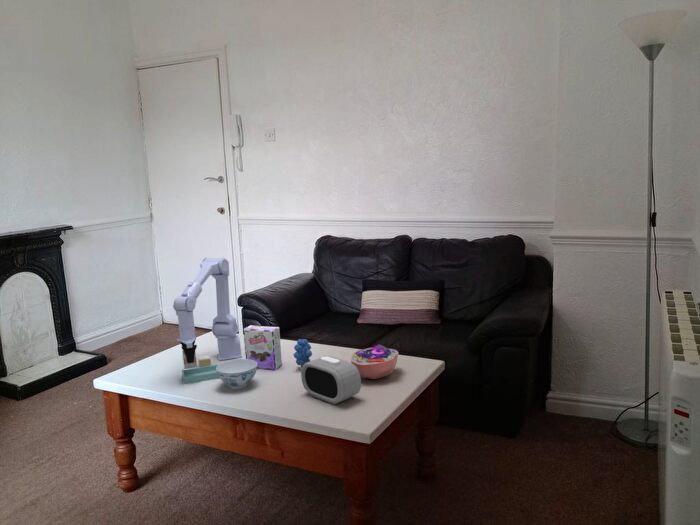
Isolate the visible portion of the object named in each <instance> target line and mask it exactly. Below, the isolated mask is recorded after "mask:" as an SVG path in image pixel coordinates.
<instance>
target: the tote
mask: <svg viewBox="0 0 700 525" xmlns="http://www.w3.org/2000/svg"><path fill="white" fill-rule="evenodd" d="M219 364H220V363H218V364H213V365H212V364H211V366H205V367H199V366H198V367H195V368H189V369H183V370H181V375H182V376H181V377H182V382H183V384H184V385H188V384H192V383H199V382H204V381H210V380H211V381H212V380H216V379H220V377H219V376H218V374H217V371H216V367H217V366H218V365H219Z"/></svg>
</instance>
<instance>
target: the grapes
mask: <svg viewBox="0 0 700 525" xmlns="http://www.w3.org/2000/svg"><path fill="white" fill-rule="evenodd" d="M293 349H294V350H295V352H294V353H293V358H295V359H296V360H295V363H296V364H297V366H300V367H301V368H302V367H303V365H304V364H305V363H307V362H310V361H311V359H310V358H311V357H312V355H313V352H312V350H311V349H312V345H311V344H310V343H309V341H308V340H307V339H306V338H299V339H298V340H297V342H296V344H295V345H294V347H293Z"/></svg>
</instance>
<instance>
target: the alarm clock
mask: <svg viewBox="0 0 700 525" xmlns="http://www.w3.org/2000/svg"><path fill="white" fill-rule="evenodd" d="M300 374H301V376H300V377H301V382H302V385H303V388H304V389H305V390H306V392H307V393H308V394H309V395H311V396H312V397H314V398H316V399H319V400H322V401H325V402H328V403H330V404H332V405H337V404H339V403H341V402H343V401H347V399H348V400H349V399H350V398H351V397H354V396H355V395H357V394H358V393H360V391H361V388H362V377H361V376H360V373H359V371H358V369H357V367H356V366H355V365H354V364H352V363H351V361H348V360H345V359H341V358H337V357H335V356H334V357H333V356H330V355H324V356H322V357H318V358H315V359H313V360H310V362H307V363H305V364H304V365H303V367H301V373H300Z"/></svg>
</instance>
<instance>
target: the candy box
mask: <svg viewBox="0 0 700 525" xmlns="http://www.w3.org/2000/svg"><path fill="white" fill-rule="evenodd" d="M280 330H281V329H280V327H279V326H267V325H266V326H263V325H262V326H261V325H252V324H251V325H249V326H246V327H244V328H243V330H242V331H243V341H244V343H243V344H244V352H245V354H244V355H245V359H250V360H254V361H256V362H257V369H260V370H272V371H276V370H278V369H280V368H281V367H282V366H283V363H282V346H281V333H280Z"/></svg>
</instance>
